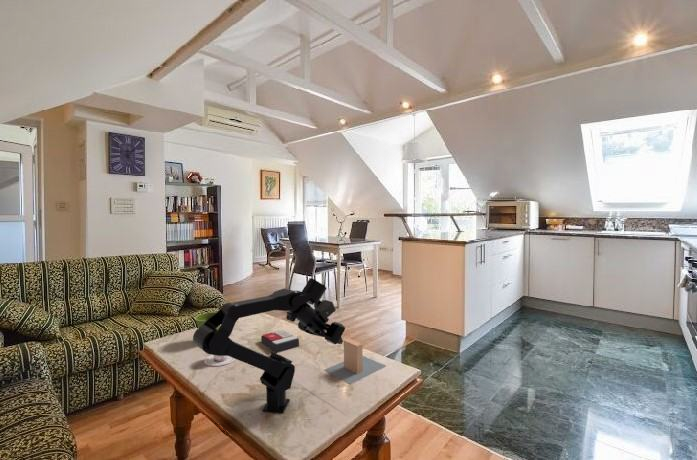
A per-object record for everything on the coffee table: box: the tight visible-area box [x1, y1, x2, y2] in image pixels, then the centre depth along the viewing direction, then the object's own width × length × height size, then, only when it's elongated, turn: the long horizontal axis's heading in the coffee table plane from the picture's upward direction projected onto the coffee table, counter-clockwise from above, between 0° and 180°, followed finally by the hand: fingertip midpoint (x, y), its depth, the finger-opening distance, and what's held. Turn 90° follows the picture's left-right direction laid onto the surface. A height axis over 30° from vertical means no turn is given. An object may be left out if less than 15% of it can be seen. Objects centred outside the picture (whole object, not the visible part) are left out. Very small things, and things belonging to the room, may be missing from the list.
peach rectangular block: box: [343, 338, 363, 374], centre depth 124 cm, size 3×7×10 cm, turn 43°
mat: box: [324, 355, 387, 385], centre depth 125 cm, size 18×14×1 cm
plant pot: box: [194, 311, 221, 330], centre depth 153 cm, size 12×12×11 cm
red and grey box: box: [260, 329, 300, 354], centre depth 149 cm, size 11×4×15 cm
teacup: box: [203, 354, 237, 367], centre depth 134 cm, size 12×12×6 cm
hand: (334, 339), depth 118 cm, fingers open, 8 cm apart
